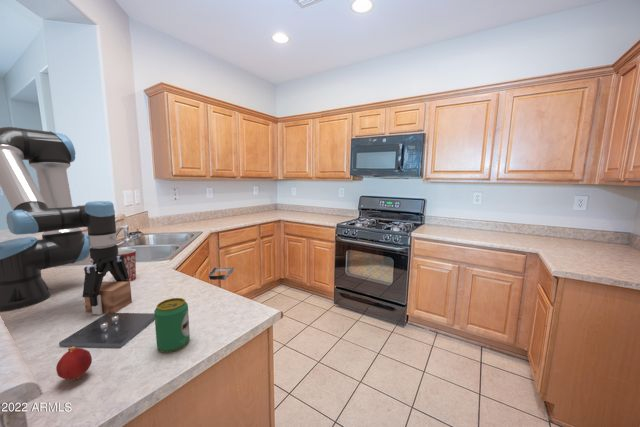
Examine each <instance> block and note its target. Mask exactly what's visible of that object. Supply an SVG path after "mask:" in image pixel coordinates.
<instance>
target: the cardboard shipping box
mask: <svg viewBox="0 0 640 427" xmlns="http://www.w3.org/2000/svg"><path fill="white" fill-rule="evenodd" d="M131 287H132V286H131V281H130V282H116V281H115V280H113V281H111V280H110V281H109V280H107V281H102V284H101V287H100V290H99V294H98V295H101V304H102V314H107V313H118V312H119V311H120V310H122V309H123V308H125V307H126V306H128V305H130V304H132V303H133V299H132V290H131V289H132V288H131ZM93 293H94V292H93ZM83 299H84V307H85V308H84V309H85V313H87V314H89V313H90V314H93V313H92V306H91V305H90V298H89V297H83Z"/></svg>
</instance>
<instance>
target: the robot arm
mask: <svg viewBox="0 0 640 427" xmlns="http://www.w3.org/2000/svg"><path fill="white" fill-rule="evenodd" d="M24 160H25V161H27V162H28V165H29V166H30V167H31V168H32V169H34V170H35V171H36V172H35V173H36V177H37V178H36V179H37V184H38V186H37V184H36V183H35V181H34V179H33V177H32V175H31V174H30V172H29V170H28V168H27V167H26V164H25V163H24ZM75 160H76V148H75V146H74V144H73V142H72V140H71V139H70V138H69V137H68V135H66V134H63V133H60V132H53V131H50V130H49V131H48V130H40V129H38V130H37V129H29V128H21V127H14V126H5V127H4V126H3V127H0V188H1V189H2V192H3V193H4V195H5V197H6V199H7V201H8V203H9V206H10V207H11V209H12V210H10V211H8V212H7V213H6V217H5V218H6V219H5V220H6V224H7V228H8V230H9V232H10V233H12V234H13V235H29V234H30V235H33V234H39V233H42V234H41V237H42V238H41V239H38V238H36V237H35V236H27V237H26V236H25V237H18V238H12V239H9V240H8V239H7V240H5V241H0V312H6V311H7V312H8V311H13V310H17V309H22V308H26V307H29V306H33V305H35V304H38V303H40V302H43V301H45V300H48V298H50V297H51V290H50V288H49V287H48V285H47V284H46V282H45V280H44V279H43V277H42V270H47V269H51V268H56V267H60V266H65V265H71V264H75V263H79V262H82V261H85V260H86V259H87V258H88V257H89V256H90V258H91V259H92V261H93V262H92V265H89V266H85V267H84V268H83V269H84V280H83V281H84V282H83V288H82V298H84V297H89V298H90V305H91V306H92V313H91V314H92V315H102V314H103V313H102V304H101V295H98V294H99V290H100V287H101V284H102V282H103V280H104V277H105V276H106V275H107V273H108V272H110V274H111V275H112V276H111V277H113V278H114V281H115V282H116V281H117V282H127V281H128V280H126V279H129V275H128V272H127V269H126V266H125V263H124V256H117V255H118V250H119V246H118V245H117V244H118V238H117V225H116V211H115V205H114V203H113V202H112V201H109V200H107V201H104V200H102V201H101V200H100V201H99V200H98V201H97V200H95V201H88V202H86V203H85V204H83V205H76V206H73V200H72V196H71V187H70V182H69V178H68V171H67V170H68V169H69V168H70V167H71V163H73V162H75ZM81 228H87V229H86V230H87V233H83V232H82V231H83V230H82V229H81ZM124 275H125V276H124ZM93 292H94V293H93Z"/></svg>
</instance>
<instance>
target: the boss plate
mask: <svg viewBox="0 0 640 427" xmlns="http://www.w3.org/2000/svg"><path fill="white" fill-rule="evenodd" d="M153 322H155V315H154V312H153V313H143V312H142V313H140V312H139V313H138V312H135V313H134V312H116V313H104V314H103V315H102V316H100V317H99V318H97V319H95V320H93V321H92V322H91V323H88V324H86V326H84V327H82V328H81V329H80V328H79V329H78V330H77V331H75V332H74V333H72V334H70V335H69V336H68V337H66V338H64V339H62V340H60V341H59V342H58V347H59V346H72V347H76V348H113V349H114V348H115V349H116V348H117V349H119V348H120V349H121V348H122V347H124V346H125V345H126V344H127V343H129V342H130V340H133V339H134V338H135V337H136V336H137V335H138V334H140V333H141V332H142V331H143V330H144V329H146V328H147V327H148V326H149V325H150V324H151V323H153Z"/></svg>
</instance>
